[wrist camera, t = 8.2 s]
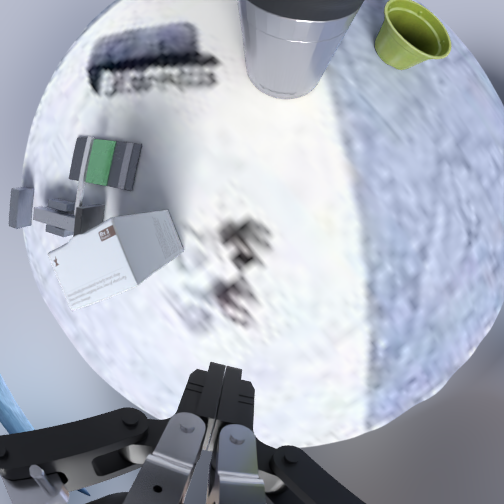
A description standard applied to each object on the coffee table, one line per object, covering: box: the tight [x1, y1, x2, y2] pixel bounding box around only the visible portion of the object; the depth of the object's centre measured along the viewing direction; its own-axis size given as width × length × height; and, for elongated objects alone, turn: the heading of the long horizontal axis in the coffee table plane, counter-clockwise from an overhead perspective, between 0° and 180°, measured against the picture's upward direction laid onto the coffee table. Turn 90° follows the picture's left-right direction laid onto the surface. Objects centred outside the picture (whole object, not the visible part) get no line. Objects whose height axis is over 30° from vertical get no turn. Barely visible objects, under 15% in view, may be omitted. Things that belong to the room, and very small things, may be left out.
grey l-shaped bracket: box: [33, 136, 105, 237], centre depth 29 cm, size 14×12×5 cm
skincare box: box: [48, 209, 184, 311], centre depth 26 cm, size 8×6×15 cm
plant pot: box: [375, 0, 451, 70], centre depth 22 cm, size 9×9×9 cm
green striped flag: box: [9, 138, 142, 237], centre depth 30 cm, size 14×22×4 cm
